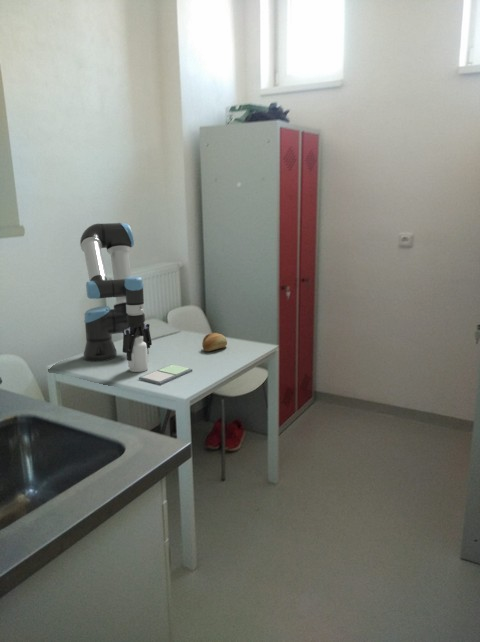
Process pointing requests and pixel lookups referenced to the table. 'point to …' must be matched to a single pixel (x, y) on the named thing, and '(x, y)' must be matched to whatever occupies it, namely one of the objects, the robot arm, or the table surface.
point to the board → (165, 374)
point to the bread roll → (214, 342)
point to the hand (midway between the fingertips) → (138, 364)
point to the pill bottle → (139, 355)
